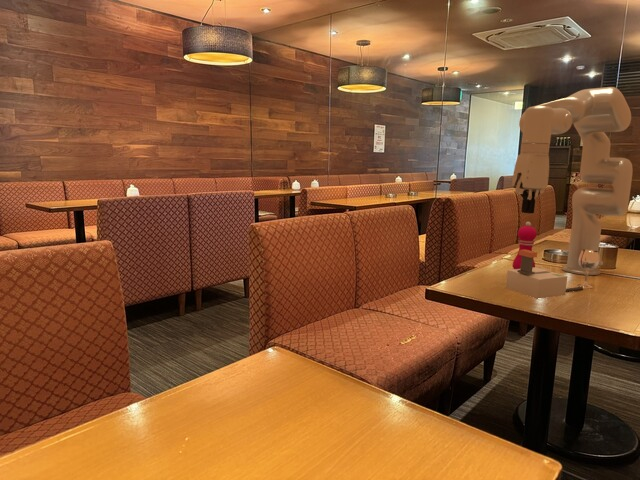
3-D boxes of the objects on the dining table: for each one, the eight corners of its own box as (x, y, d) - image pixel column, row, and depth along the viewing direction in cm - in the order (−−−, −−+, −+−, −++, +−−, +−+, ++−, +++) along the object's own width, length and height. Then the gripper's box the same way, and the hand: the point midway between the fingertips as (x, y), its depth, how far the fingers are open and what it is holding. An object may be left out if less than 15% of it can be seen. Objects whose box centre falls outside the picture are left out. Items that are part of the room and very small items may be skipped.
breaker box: (554, 282, 153) (556, 265, 152) (587, 292, 142) (589, 273, 141) (505, 288, 144) (507, 269, 143) (537, 299, 133) (539, 279, 132)
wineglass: (575, 286, 148) (580, 251, 146) (575, 282, 153) (579, 248, 151) (595, 289, 145) (601, 253, 143) (594, 285, 150) (599, 250, 148)
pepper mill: (529, 275, 161) (535, 220, 157) (536, 281, 154) (543, 223, 150) (508, 274, 162) (514, 219, 158) (515, 280, 155) (521, 222, 151)
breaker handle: (523, 270, 141) (526, 249, 139) (535, 274, 137) (538, 252, 136) (516, 271, 139) (518, 250, 138) (527, 275, 135) (530, 252, 134)
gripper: (541, 151, 137) (534, 211, 140) (505, 149, 131) (499, 211, 134) (563, 151, 130) (555, 214, 133) (526, 149, 124) (519, 214, 127)
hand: (527, 212), depth 134 cm, fingers closed
